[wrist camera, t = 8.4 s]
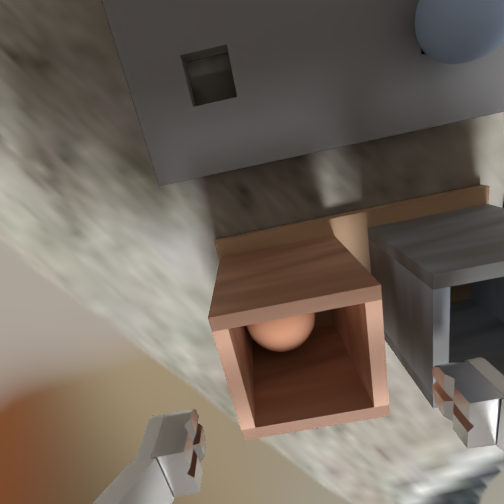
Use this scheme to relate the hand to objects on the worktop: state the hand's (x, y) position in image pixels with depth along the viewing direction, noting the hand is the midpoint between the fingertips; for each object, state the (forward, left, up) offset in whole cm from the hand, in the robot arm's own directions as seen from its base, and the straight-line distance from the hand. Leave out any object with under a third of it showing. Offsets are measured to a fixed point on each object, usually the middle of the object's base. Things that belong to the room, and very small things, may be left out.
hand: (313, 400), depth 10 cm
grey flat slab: (-11, +4, -8) cm, 14 cm away
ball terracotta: (0, -1, -6) cm, 6 cm away
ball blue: (-11, +9, -5) cm, 15 cm away
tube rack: (0, +4, -8) cm, 9 cm away
